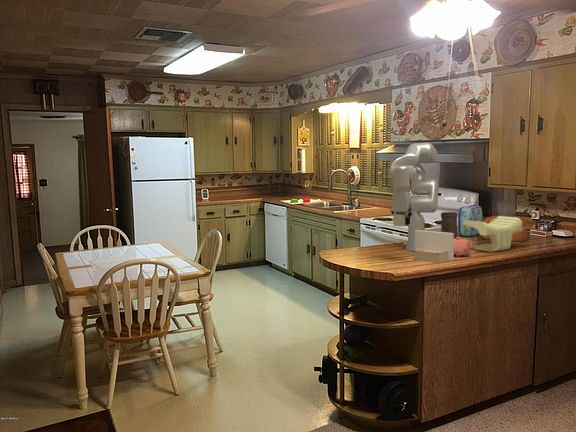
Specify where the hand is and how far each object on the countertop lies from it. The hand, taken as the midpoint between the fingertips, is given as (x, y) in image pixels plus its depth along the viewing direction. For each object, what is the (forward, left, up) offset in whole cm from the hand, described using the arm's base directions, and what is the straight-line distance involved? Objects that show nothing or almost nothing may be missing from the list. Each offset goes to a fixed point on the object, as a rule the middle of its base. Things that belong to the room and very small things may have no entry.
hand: (402, 223), depth 254 cm
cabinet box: (0, 0, -1) cm, 1 cm away
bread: (+10, +99, -20) cm, 102 cm away
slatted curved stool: (+22, +58, -19) cm, 65 cm away
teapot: (+16, +29, -19) cm, 38 cm away
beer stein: (-10, +66, -19) cm, 69 cm away
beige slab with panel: (+9, +11, -19) cm, 24 cm away
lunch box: (-16, +105, -19) cm, 108 cm away
